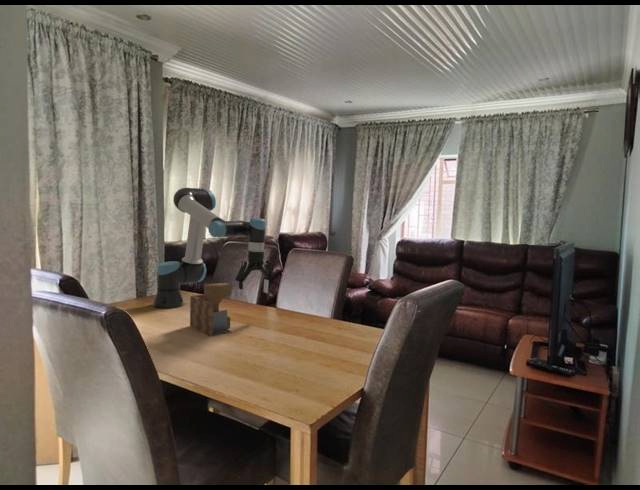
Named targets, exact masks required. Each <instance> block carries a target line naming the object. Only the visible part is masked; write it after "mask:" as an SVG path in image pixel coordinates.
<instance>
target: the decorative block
mask: <svg viewBox="0 0 640 490" xmlns="http://www.w3.org/2000/svg"><path fill="white" fill-rule="evenodd" d="M203 294H204V300H206V301H208V302H211V303H213V312H216V311H220V307H219V306H220V303H221V302H222V300H223V299H225V298H226V297H229V296H231V295H232V285H231V284H230V283H228V282H221V283H220V282H218V283H205V284H204V285H203ZM230 328H231V317H230V316H229V315H227V329H230Z"/></svg>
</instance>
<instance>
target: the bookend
mask: <svg viewBox="0 0 640 490" xmlns="http://www.w3.org/2000/svg"><path fill="white" fill-rule="evenodd" d="M227 316H228V309H224V310H219V311H216V312H213V336H212V337H214V336H218V335H223V334H228V333H232V330H230V329H229V328H227Z"/></svg>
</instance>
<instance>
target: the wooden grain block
mask: <svg viewBox="0 0 640 490" xmlns="http://www.w3.org/2000/svg"><path fill="white" fill-rule="evenodd" d="M189 298H190V299H189V300H190V302H189V303H190V306H189V308H190V312H189V327H191V328H193V329H195V330H197V331H199V332H201V333H203V334H205V335H207V336H208V337H214V336H213V303H211V302H208V301H206V300H203V299H204V293H203V294H194V295H190V297H189Z"/></svg>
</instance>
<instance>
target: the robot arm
mask: <svg viewBox="0 0 640 490" xmlns="http://www.w3.org/2000/svg"><path fill="white" fill-rule="evenodd" d="M172 199H173V204H174V207H176V208H177V209H178V210H179V211H180V212H181V213H185V214H187V215H188V216H189V222H188V223H189V224H188V232H187V238H186V240H187V241H186V247H185V255H184V257H182V258H181V262H180V261H176V260H175V261H172V260H171V261H165V262H161V263H159V265H157V270H156V274H157V277H156V290H157V291H156V293H155V297H154V299H153V307H155V308H158V309H173V308H179V307H181V306H184V298H183V296H182V294H181V285H189V284H196V283H200V282H202V281H203V280H204V279H205V278H206V275H207V267H206V264H205V263H204V260H203V259H202V254H203V253H202V252H203V247H204V246H203V244H204V239H205V231H206V228H207V229H208V233H209V235H210V236H211V237H212V238H230V237H231V238H232V237H234V238H235V237H236V238H237V237H243V238H248V252H247V253H248V254H247V259H248V260H247V261H244V260H242V261H241V266H240V268H239V271H238V272H237V275H236V277H235V281H236V282H238V289H239V296H241V297H245V288H246V287H245V286H246V282H245V280H246V279H247V277H248V276H249V275H250V274H251V272H253V271H260V272H261V274H262V275H263V277H264V280H263V293H265V294H268V293H269V286H270V281H271V280H272V279H273V278H274V275H273V272H272V269H271V267H270V262H269V261H270V260H269V259H264V258H265V251H264V250H265V240H266V239H265V238H266V219H264V218H255V217H254V218H253V217H252V218H250V219H249V221H245V220H225V219H222V217H219V215H216V214H215V213H214V212H212V211H213V210H214V209H215V208H216V204H217V201H216V197H215V195H214V193H213V191H212V190H210V189H206V188H198V187H197V188H195V187H194V188H193V187H181V188H180V189H178V190H177V191H176V192H175V193H174V195H173V198H172ZM263 266H264V267H263Z"/></svg>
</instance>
